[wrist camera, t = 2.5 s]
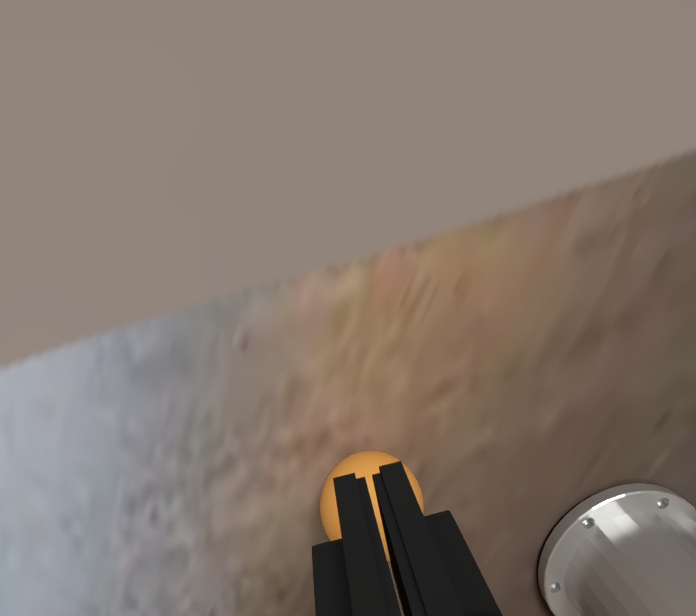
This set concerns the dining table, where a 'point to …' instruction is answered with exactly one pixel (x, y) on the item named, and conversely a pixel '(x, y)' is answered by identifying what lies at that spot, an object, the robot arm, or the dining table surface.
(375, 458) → the ball
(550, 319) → the dining table surface
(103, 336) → the dining table surface
